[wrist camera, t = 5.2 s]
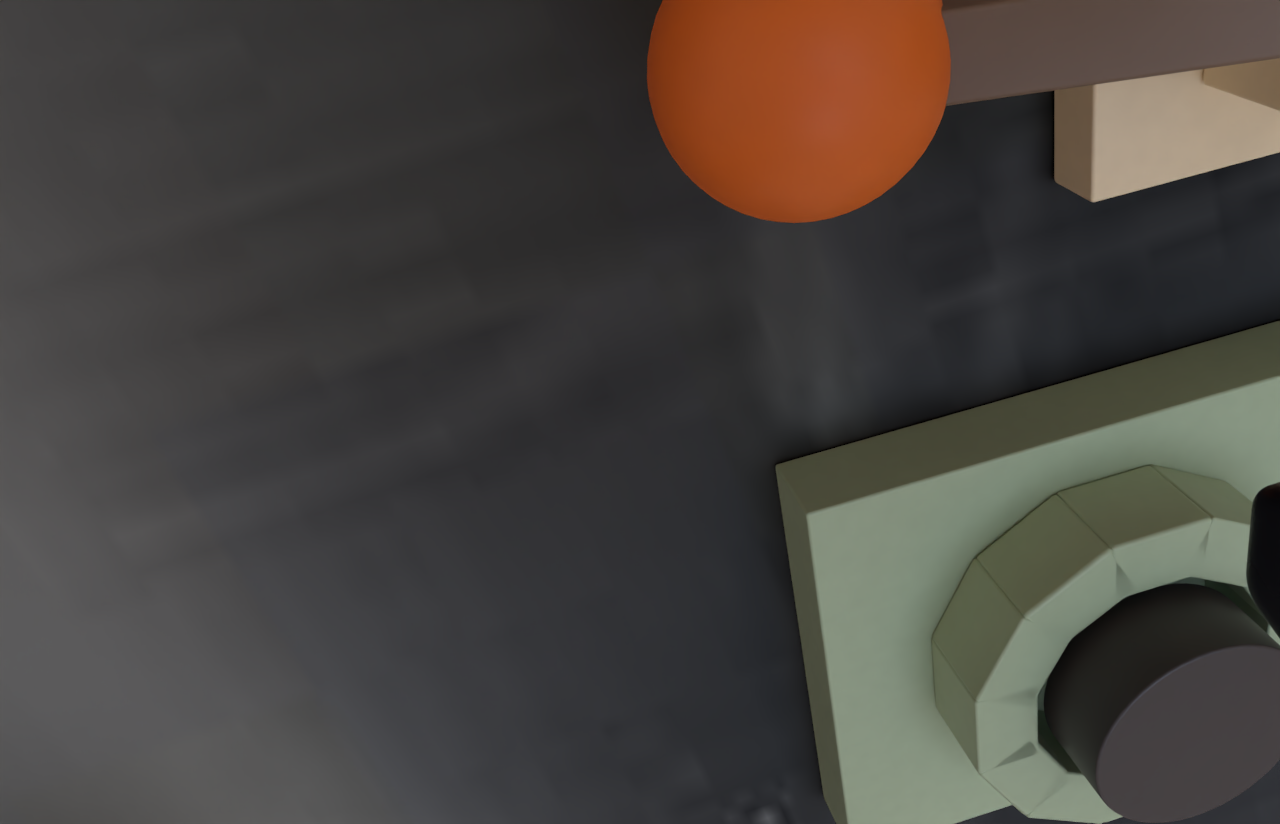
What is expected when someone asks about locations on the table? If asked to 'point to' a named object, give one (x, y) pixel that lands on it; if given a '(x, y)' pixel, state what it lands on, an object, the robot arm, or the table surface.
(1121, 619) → the power button
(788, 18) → the switch lever
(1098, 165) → the beige pivot stand
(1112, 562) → the plug block
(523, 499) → the table surface
